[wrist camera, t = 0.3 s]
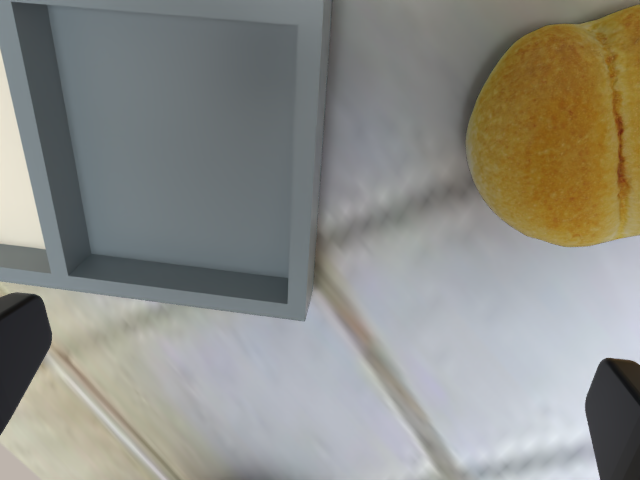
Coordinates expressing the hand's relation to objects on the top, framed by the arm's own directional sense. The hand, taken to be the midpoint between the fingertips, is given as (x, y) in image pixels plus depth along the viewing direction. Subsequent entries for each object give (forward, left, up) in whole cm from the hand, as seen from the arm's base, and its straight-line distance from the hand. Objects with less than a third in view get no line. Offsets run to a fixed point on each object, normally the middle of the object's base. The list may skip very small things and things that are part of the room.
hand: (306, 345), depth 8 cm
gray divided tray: (-2, +13, -14) cm, 19 cm away
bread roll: (-2, -7, -14) cm, 16 cm away
